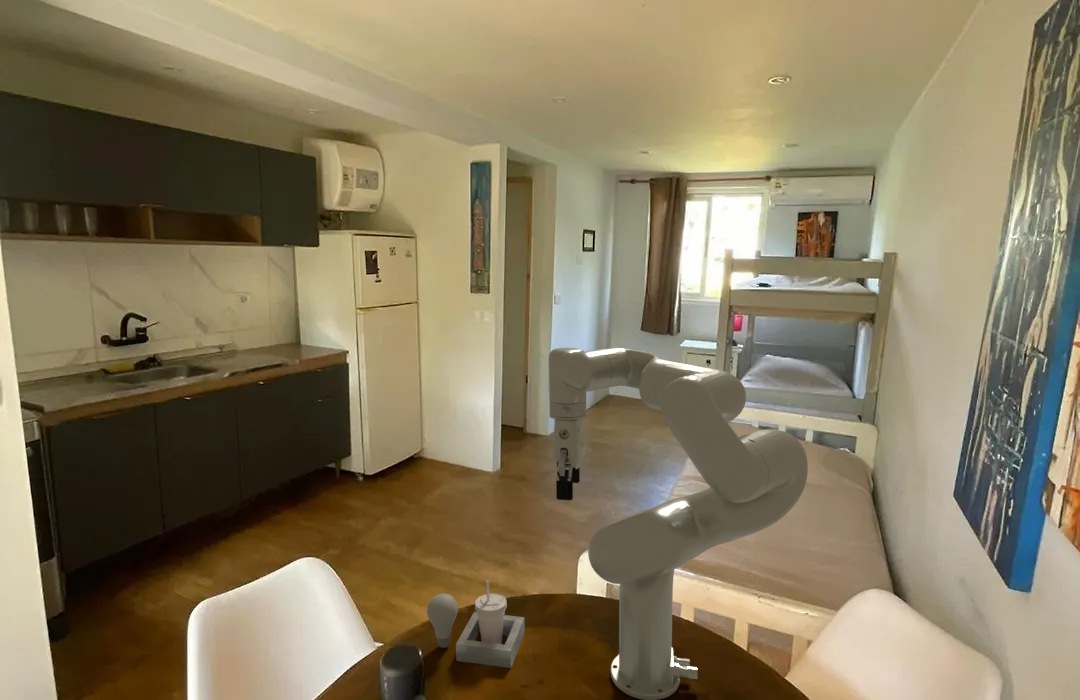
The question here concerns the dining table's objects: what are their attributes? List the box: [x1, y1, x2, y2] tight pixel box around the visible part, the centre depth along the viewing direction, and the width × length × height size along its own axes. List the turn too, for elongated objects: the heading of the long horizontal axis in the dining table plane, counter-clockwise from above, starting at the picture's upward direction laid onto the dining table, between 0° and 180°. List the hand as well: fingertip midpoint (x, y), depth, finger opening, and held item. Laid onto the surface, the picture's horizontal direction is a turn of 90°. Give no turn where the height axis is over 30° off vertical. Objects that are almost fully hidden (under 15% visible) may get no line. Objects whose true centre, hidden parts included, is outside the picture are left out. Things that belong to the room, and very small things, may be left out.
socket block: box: [455, 611, 526, 669], centre depth 113 cm, size 11×11×4 cm
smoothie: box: [474, 579, 508, 644], centre depth 112 cm, size 6×6×14 cm
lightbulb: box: [426, 593, 459, 649], centre depth 112 cm, size 6×6×11 cm
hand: (568, 490), depth 115 cm, fingers open, 9 cm apart
